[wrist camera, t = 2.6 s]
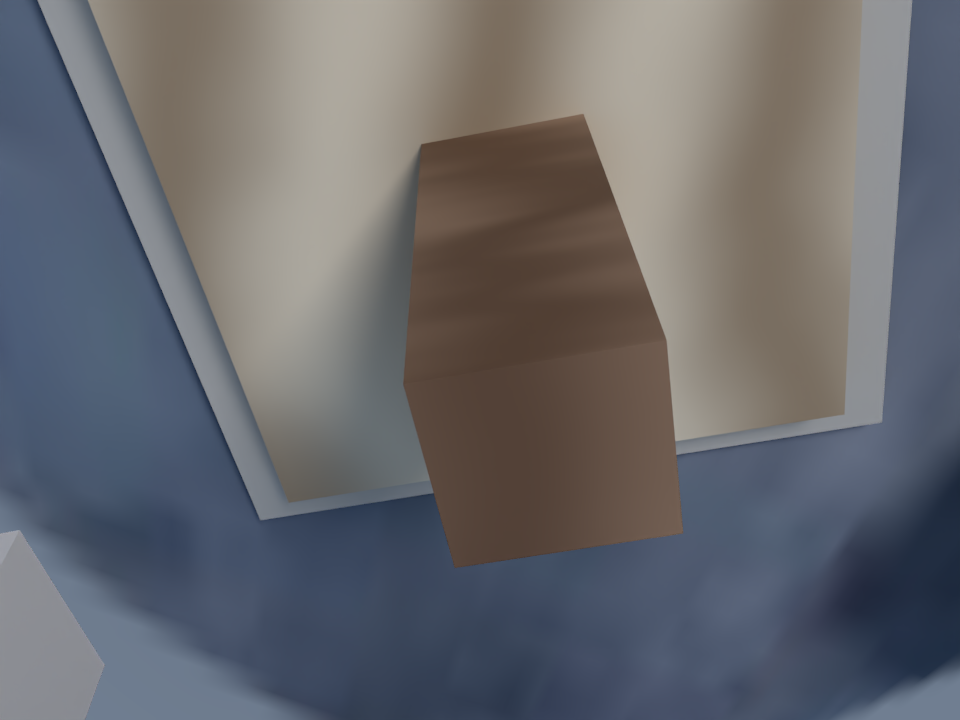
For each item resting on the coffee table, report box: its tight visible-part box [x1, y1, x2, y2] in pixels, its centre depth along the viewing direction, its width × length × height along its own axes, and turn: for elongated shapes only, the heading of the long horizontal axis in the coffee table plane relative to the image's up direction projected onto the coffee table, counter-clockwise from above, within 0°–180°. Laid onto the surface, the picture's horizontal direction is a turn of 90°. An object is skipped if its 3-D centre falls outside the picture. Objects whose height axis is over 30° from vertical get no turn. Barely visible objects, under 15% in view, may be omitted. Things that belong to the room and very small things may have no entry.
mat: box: [38, 0, 912, 520], centre depth 22 cm, size 18×18×1 cm
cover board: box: [88, 0, 862, 568], centre depth 17 cm, size 15×15×10 cm
